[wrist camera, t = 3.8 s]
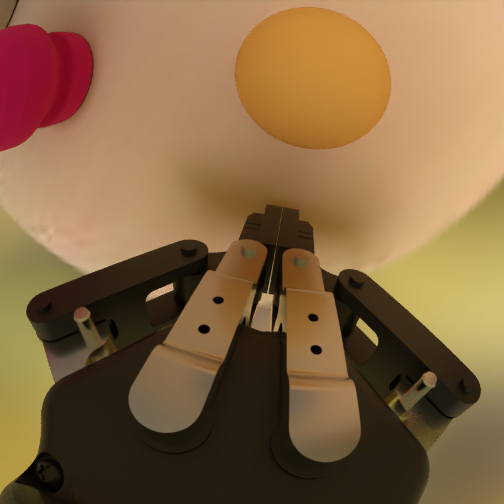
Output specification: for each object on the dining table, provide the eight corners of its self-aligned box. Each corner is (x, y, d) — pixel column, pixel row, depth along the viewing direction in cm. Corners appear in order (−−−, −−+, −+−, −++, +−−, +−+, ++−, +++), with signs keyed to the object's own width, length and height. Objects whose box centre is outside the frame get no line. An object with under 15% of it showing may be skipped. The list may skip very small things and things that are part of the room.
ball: (244, 128, 12) (209, 151, 7) (255, 22, 9) (225, -21, 4) (359, 148, 12) (396, 184, 7) (375, 42, 9) (422, 14, 4)
